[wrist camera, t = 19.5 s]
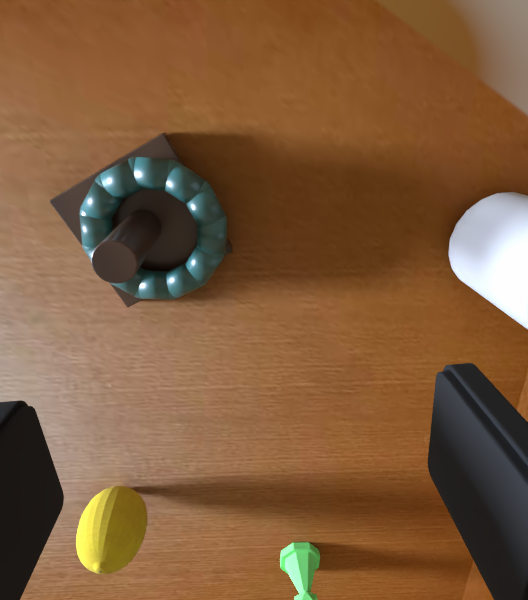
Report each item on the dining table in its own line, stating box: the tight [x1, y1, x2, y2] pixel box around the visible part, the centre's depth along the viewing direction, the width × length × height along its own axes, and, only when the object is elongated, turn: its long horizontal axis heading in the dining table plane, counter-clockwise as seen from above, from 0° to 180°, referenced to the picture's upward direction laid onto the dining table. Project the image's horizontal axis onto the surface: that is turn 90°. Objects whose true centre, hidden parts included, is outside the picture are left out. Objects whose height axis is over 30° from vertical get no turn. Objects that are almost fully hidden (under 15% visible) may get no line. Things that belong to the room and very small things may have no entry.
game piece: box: [280, 542, 320, 600], centre depth 43 cm, size 4×4×6 cm
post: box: [50, 133, 232, 307], centre depth 27 cm, size 9×9×9 cm
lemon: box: [76, 486, 147, 574], centre depth 37 cm, size 6×6×8 cm
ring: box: [80, 157, 227, 300], centre depth 29 cm, size 10×10×2 cm
